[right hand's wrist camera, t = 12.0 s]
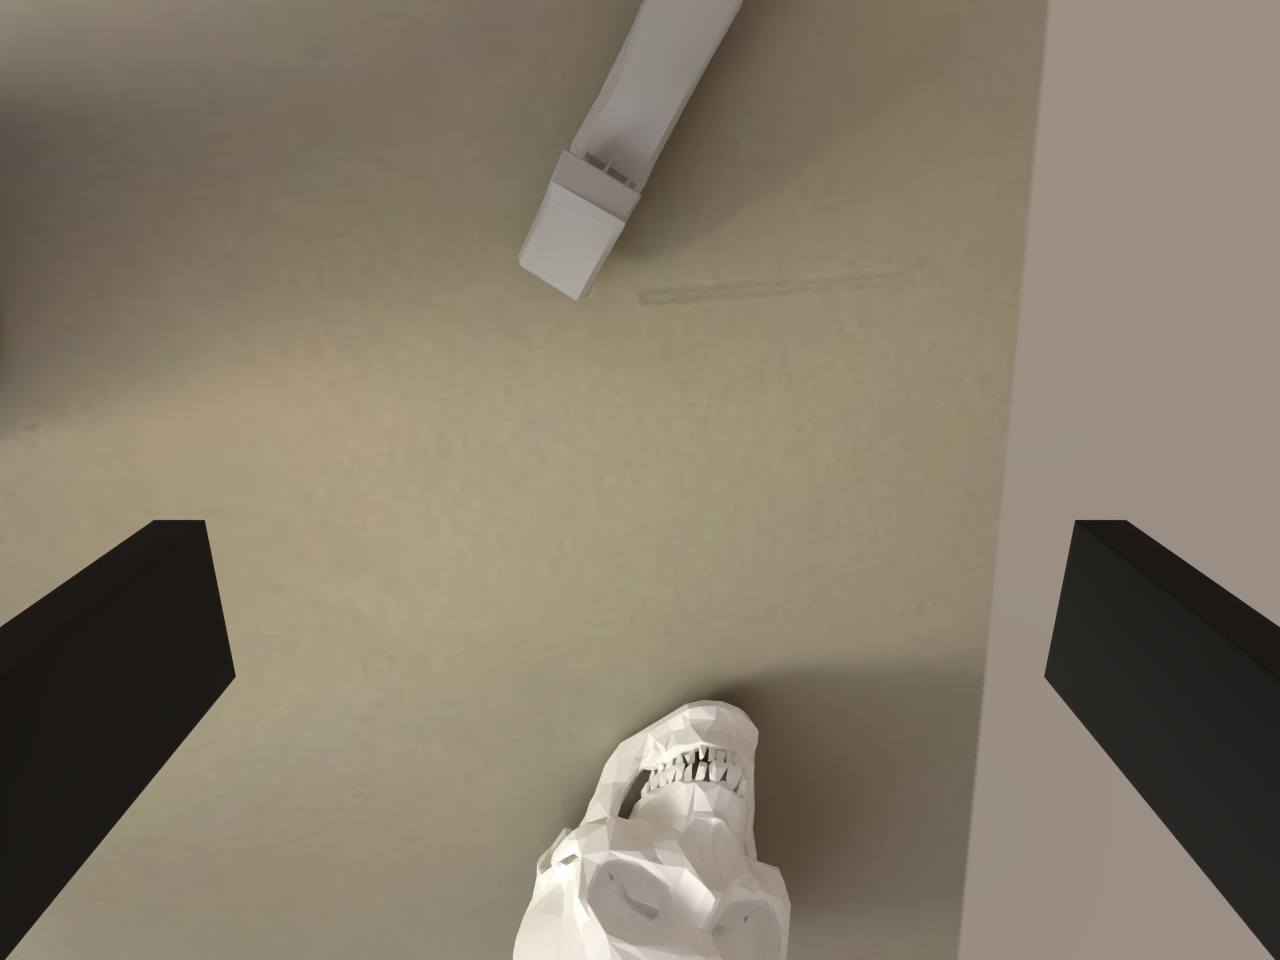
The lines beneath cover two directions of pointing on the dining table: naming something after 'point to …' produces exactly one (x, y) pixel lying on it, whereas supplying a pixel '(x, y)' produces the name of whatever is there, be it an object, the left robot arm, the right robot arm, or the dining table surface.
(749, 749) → the skull
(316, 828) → the dining table surface
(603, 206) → the clamp
